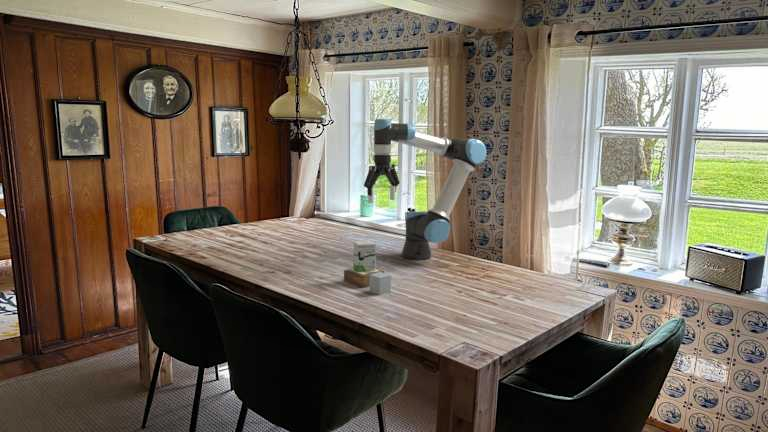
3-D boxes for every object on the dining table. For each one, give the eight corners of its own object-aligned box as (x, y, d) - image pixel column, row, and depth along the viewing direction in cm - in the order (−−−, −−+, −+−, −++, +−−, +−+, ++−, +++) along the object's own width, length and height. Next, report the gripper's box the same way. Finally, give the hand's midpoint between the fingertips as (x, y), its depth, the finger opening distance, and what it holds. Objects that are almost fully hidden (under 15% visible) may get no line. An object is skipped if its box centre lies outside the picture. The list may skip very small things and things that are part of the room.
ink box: (355, 272, 221) (356, 244, 219) (353, 268, 225) (353, 241, 223) (376, 270, 223) (376, 243, 221) (373, 267, 228) (373, 240, 226)
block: (380, 288, 216) (380, 271, 215) (390, 292, 212) (390, 275, 211) (369, 291, 212) (369, 274, 211) (379, 295, 208) (379, 277, 207)
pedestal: (365, 276, 233) (365, 264, 232) (384, 282, 225) (384, 270, 224) (343, 281, 225) (344, 269, 224) (362, 288, 217) (362, 275, 216)
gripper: (395, 152, 248) (395, 197, 252) (355, 154, 231) (355, 203, 235) (407, 153, 243) (406, 199, 247) (367, 155, 226) (367, 205, 230)
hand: (381, 201), depth 241 cm, fingers open, 13 cm apart
